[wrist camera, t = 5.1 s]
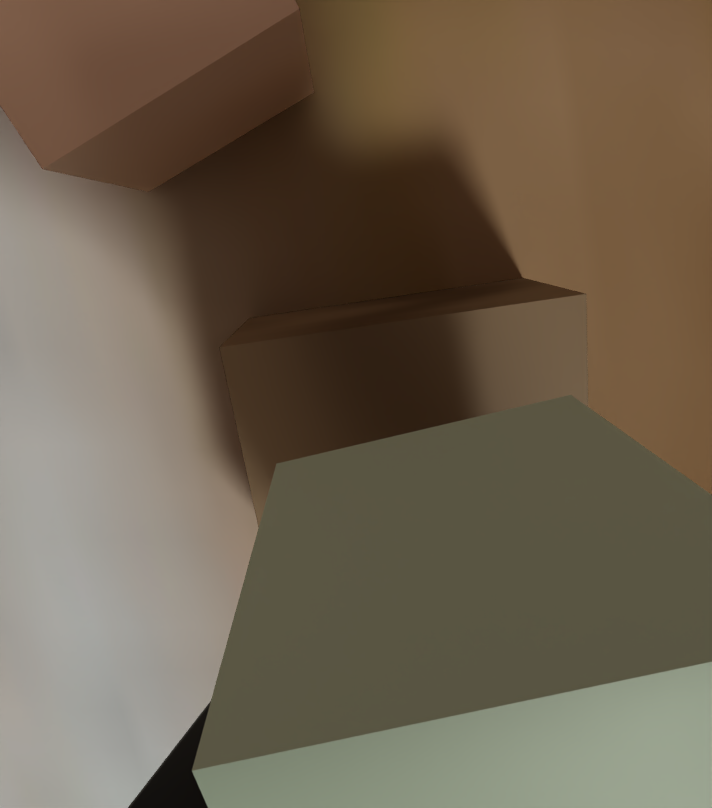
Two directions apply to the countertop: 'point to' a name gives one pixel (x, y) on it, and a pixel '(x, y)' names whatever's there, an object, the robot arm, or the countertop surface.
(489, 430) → the sage block
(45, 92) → the terracotta block
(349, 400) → the walnut base
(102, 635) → the countertop surface
